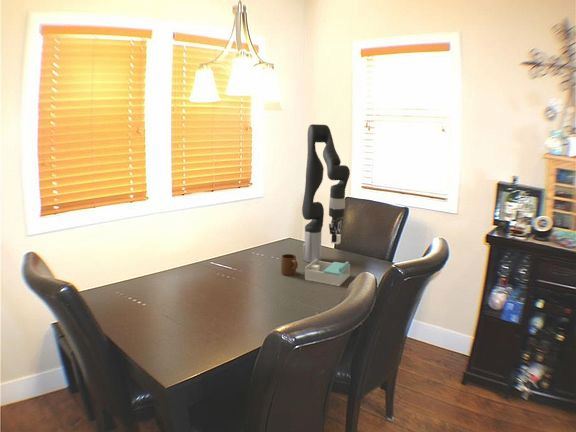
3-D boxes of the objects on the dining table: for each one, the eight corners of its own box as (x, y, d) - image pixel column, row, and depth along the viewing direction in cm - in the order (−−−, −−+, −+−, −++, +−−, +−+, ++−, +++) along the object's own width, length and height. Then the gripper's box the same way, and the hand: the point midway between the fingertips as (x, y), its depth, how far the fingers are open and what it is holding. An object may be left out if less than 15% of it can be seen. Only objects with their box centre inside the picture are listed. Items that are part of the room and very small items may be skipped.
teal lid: (323, 272, 217) (323, 267, 217) (334, 263, 231) (334, 258, 230) (339, 275, 214) (339, 269, 213) (349, 265, 227) (350, 260, 226)
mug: (303, 277, 226) (303, 259, 224) (290, 280, 222) (290, 262, 220) (291, 270, 236) (291, 253, 234) (278, 272, 232) (278, 255, 230)
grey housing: (304, 279, 223) (304, 267, 221) (316, 270, 236) (316, 258, 235) (339, 286, 215) (339, 273, 214) (349, 275, 228) (350, 263, 227)
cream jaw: (331, 243, 219) (331, 235, 218) (333, 241, 222) (334, 233, 221) (337, 244, 217) (338, 236, 216) (340, 242, 220) (340, 234, 219)
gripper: (334, 203, 223) (333, 236, 227) (324, 208, 211) (322, 243, 215) (349, 204, 220) (347, 238, 224) (339, 210, 207) (337, 245, 212)
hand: (335, 240), depth 219 cm, fingers closed on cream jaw, 3 cm apart
